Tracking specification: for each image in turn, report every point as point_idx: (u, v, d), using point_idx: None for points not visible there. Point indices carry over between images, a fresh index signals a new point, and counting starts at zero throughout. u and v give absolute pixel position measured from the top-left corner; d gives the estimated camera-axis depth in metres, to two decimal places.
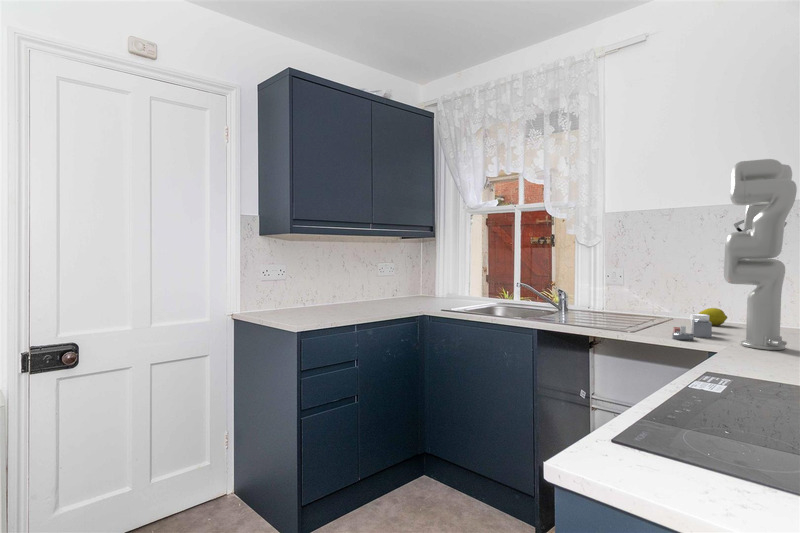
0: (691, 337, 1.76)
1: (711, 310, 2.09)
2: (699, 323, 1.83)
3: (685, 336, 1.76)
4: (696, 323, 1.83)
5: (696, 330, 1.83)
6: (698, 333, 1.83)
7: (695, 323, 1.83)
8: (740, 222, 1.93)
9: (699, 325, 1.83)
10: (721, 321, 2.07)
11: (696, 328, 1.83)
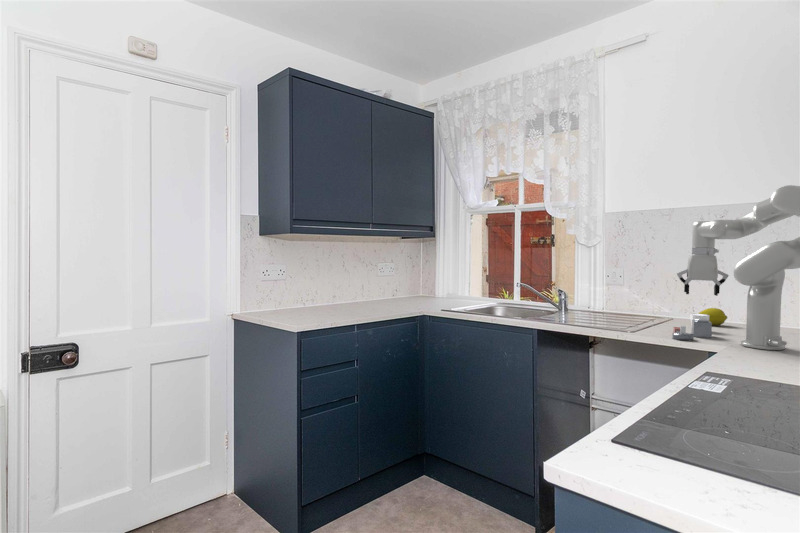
0: (691, 337, 1.76)
1: (711, 310, 2.09)
2: (699, 323, 1.83)
3: (685, 336, 1.76)
4: (696, 323, 1.83)
5: (696, 330, 1.83)
6: (698, 333, 1.83)
7: (695, 323, 1.83)
8: None
9: (699, 325, 1.83)
10: (721, 321, 2.07)
11: (696, 328, 1.83)
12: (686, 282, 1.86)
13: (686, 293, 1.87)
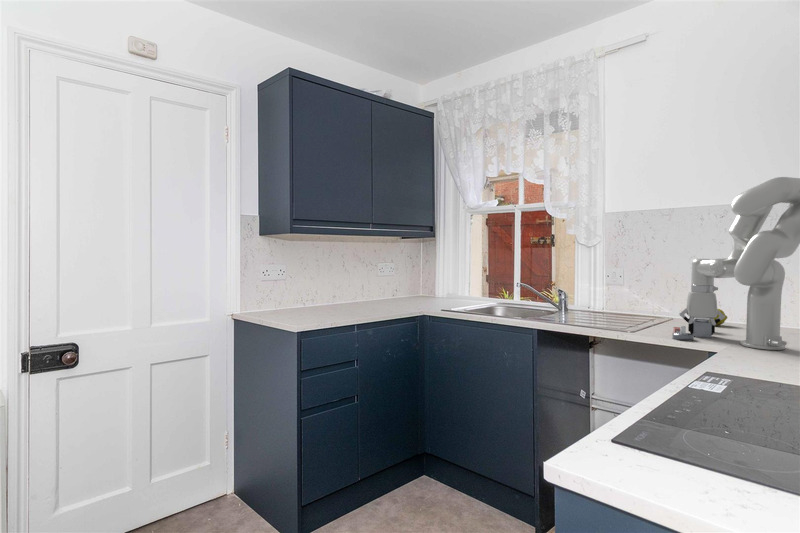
0: (691, 337, 1.76)
1: None
2: (699, 323, 1.83)
3: (685, 336, 1.76)
4: (696, 323, 1.83)
5: (696, 330, 1.83)
6: (698, 333, 1.83)
7: (695, 323, 1.83)
8: None
9: (699, 325, 1.83)
10: (721, 321, 2.07)
11: (696, 328, 1.83)
12: (690, 322, 1.86)
13: (690, 332, 1.87)
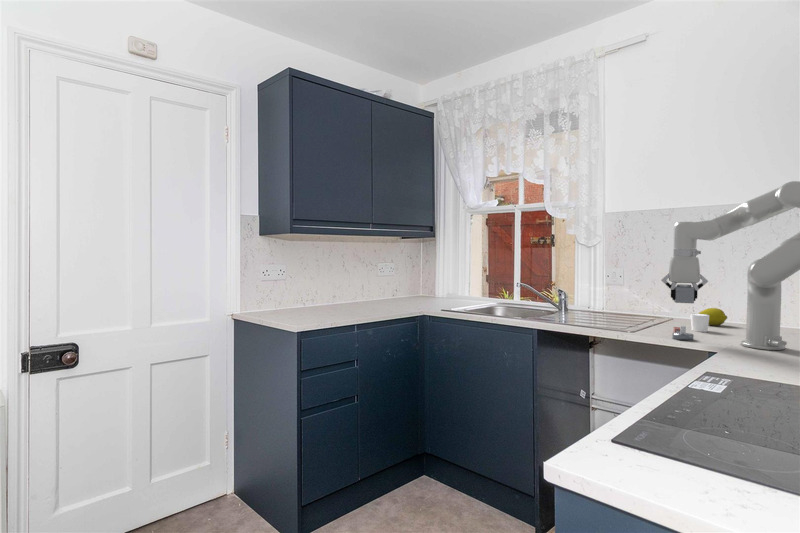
0: (691, 337, 1.76)
1: (711, 310, 2.09)
2: (681, 288, 1.76)
3: (685, 336, 1.76)
4: (678, 288, 1.77)
5: (678, 296, 1.77)
6: (680, 298, 1.77)
7: (677, 288, 1.77)
8: None
9: (681, 290, 1.76)
10: (721, 321, 2.07)
11: (678, 293, 1.77)
12: (672, 287, 1.79)
13: None
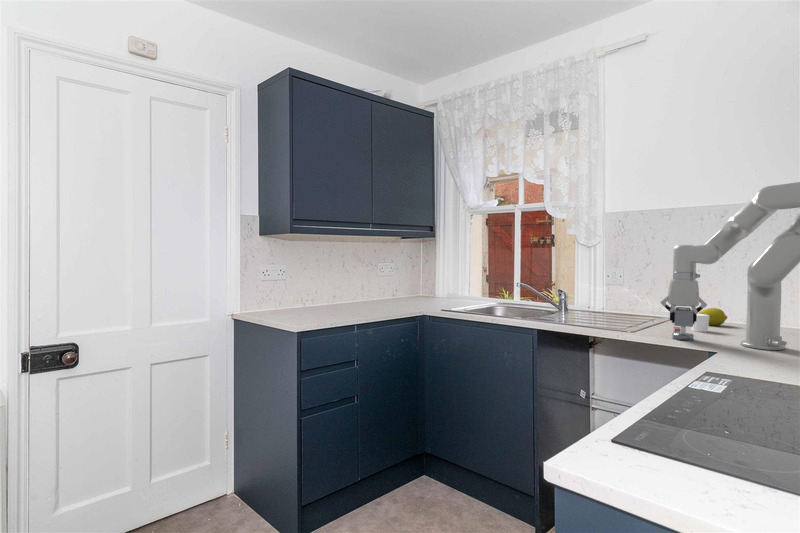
0: (691, 337, 1.76)
1: (711, 310, 2.09)
2: (680, 311, 1.77)
3: (685, 336, 1.76)
4: (677, 311, 1.77)
5: (677, 319, 1.77)
6: (679, 322, 1.77)
7: (676, 311, 1.77)
8: None
9: (680, 313, 1.77)
10: (721, 321, 2.07)
11: (677, 316, 1.77)
12: (671, 310, 1.79)
13: None
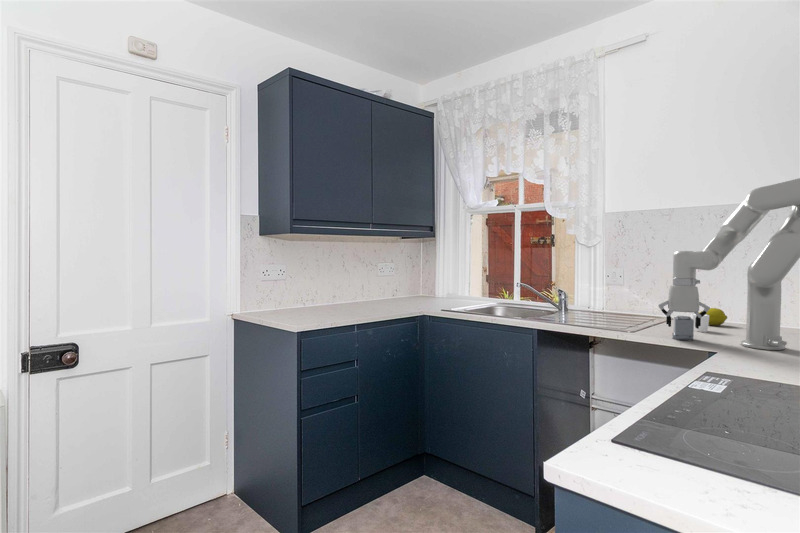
0: (691, 337, 1.76)
1: (711, 310, 2.09)
2: (681, 320, 1.77)
3: (685, 336, 1.76)
4: (678, 320, 1.77)
5: (678, 328, 1.77)
6: (679, 331, 1.77)
7: (677, 320, 1.77)
8: None
9: (681, 322, 1.77)
10: (721, 321, 2.07)
11: (678, 326, 1.77)
12: (668, 314, 1.80)
13: (668, 325, 1.81)
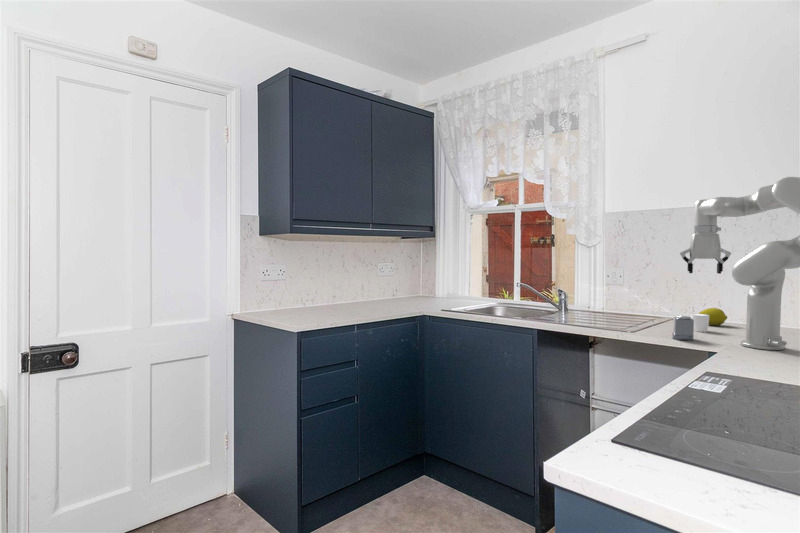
0: (691, 337, 1.76)
1: (711, 310, 2.09)
2: (681, 320, 1.77)
3: (685, 336, 1.76)
4: (678, 320, 1.77)
5: (678, 328, 1.77)
6: (679, 331, 1.77)
7: (677, 320, 1.77)
8: None
9: (681, 322, 1.77)
10: (721, 321, 2.07)
11: (678, 326, 1.77)
12: (690, 261, 1.86)
13: (689, 272, 1.87)
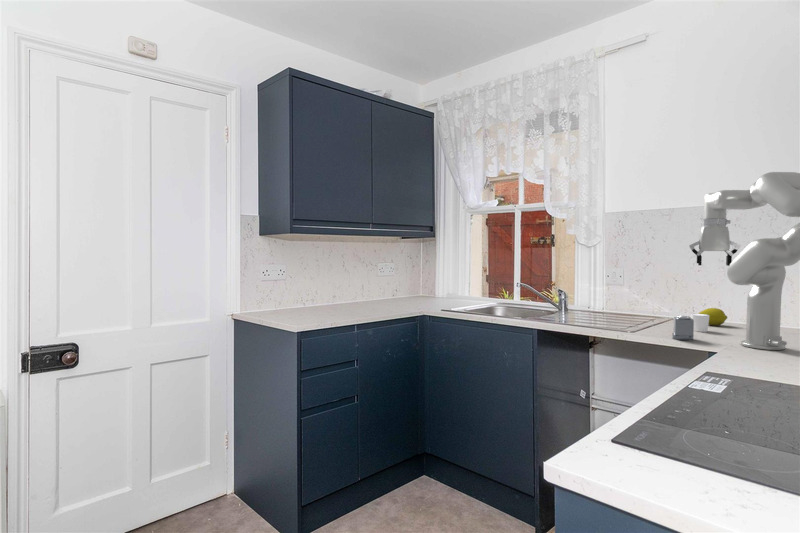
0: (691, 337, 1.76)
1: (711, 310, 2.09)
2: (681, 320, 1.77)
3: (685, 336, 1.76)
4: (678, 320, 1.77)
5: (678, 328, 1.77)
6: (679, 331, 1.77)
7: (677, 320, 1.77)
8: None
9: (681, 322, 1.77)
10: (721, 321, 2.07)
11: (678, 326, 1.77)
12: (698, 253, 1.89)
13: (698, 264, 1.90)
